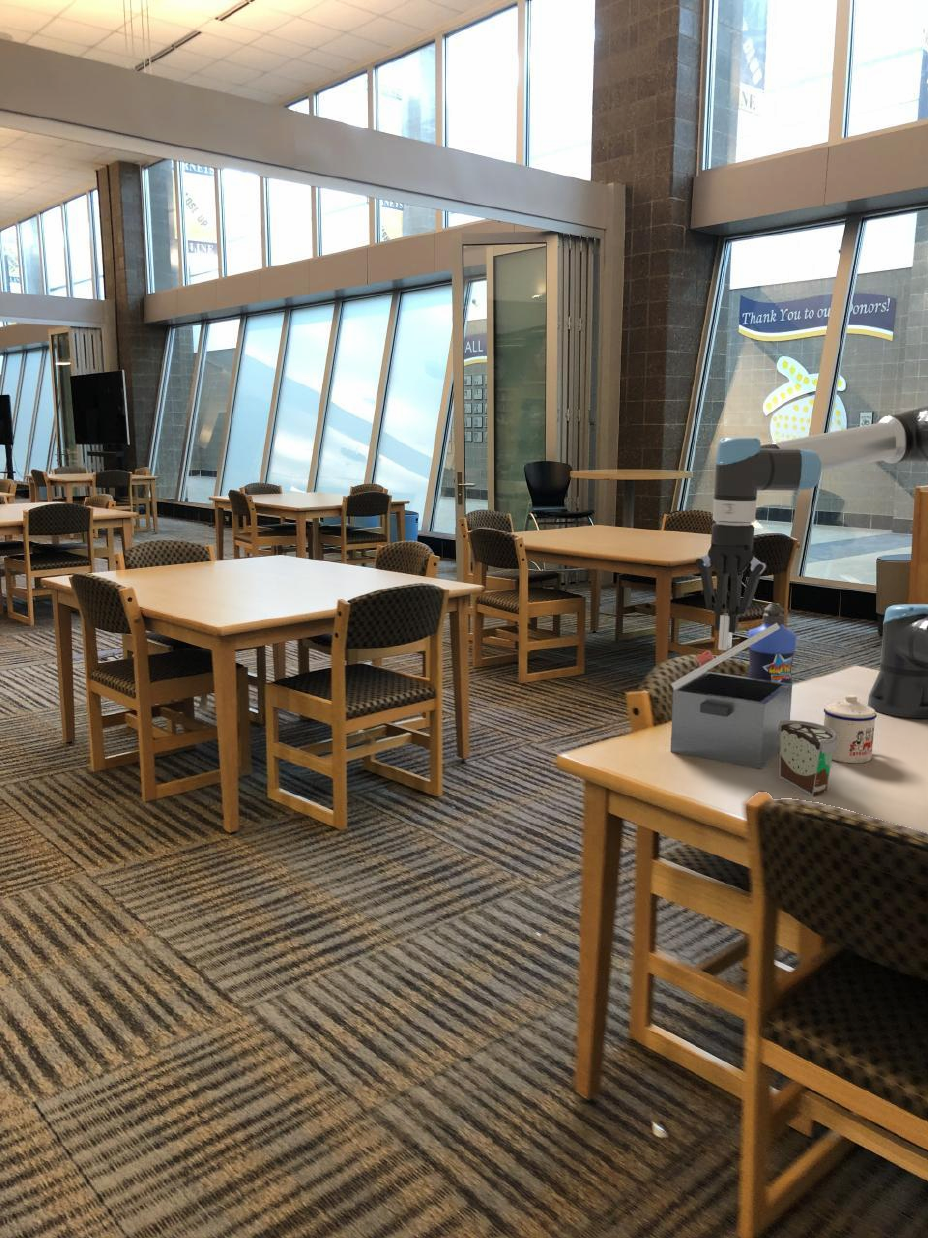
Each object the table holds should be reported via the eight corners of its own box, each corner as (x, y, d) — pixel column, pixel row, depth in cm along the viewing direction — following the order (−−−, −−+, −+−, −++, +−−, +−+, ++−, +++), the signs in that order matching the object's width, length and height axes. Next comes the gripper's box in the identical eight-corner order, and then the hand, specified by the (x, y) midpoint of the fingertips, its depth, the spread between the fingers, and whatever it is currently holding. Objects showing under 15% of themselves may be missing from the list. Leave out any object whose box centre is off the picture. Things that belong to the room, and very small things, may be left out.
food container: (850, 795, 160) (855, 738, 158) (818, 799, 159) (823, 741, 157) (804, 770, 172) (808, 716, 170) (774, 774, 170) (778, 719, 168)
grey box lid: (780, 628, 184) (771, 613, 184) (751, 645, 170) (741, 629, 170) (707, 670, 193) (698, 656, 194) (674, 689, 179) (664, 674, 180)
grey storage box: (790, 741, 188) (794, 681, 186) (757, 772, 171) (761, 707, 169) (706, 726, 197) (709, 669, 195) (666, 754, 180) (669, 692, 178)
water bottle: (799, 727, 197) (808, 607, 192) (758, 731, 194) (766, 609, 189) (774, 714, 205) (782, 599, 201) (734, 717, 203) (741, 600, 198)
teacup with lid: (855, 768, 173) (861, 705, 171) (810, 754, 180) (815, 694, 178) (890, 754, 181) (896, 694, 178) (845, 742, 188) (850, 684, 185)
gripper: (691, 522, 177) (684, 647, 182) (762, 527, 170) (753, 657, 175) (706, 519, 183) (698, 640, 188) (775, 524, 176) (765, 649, 181)
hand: (724, 648), depth 181 cm, fingers closed
